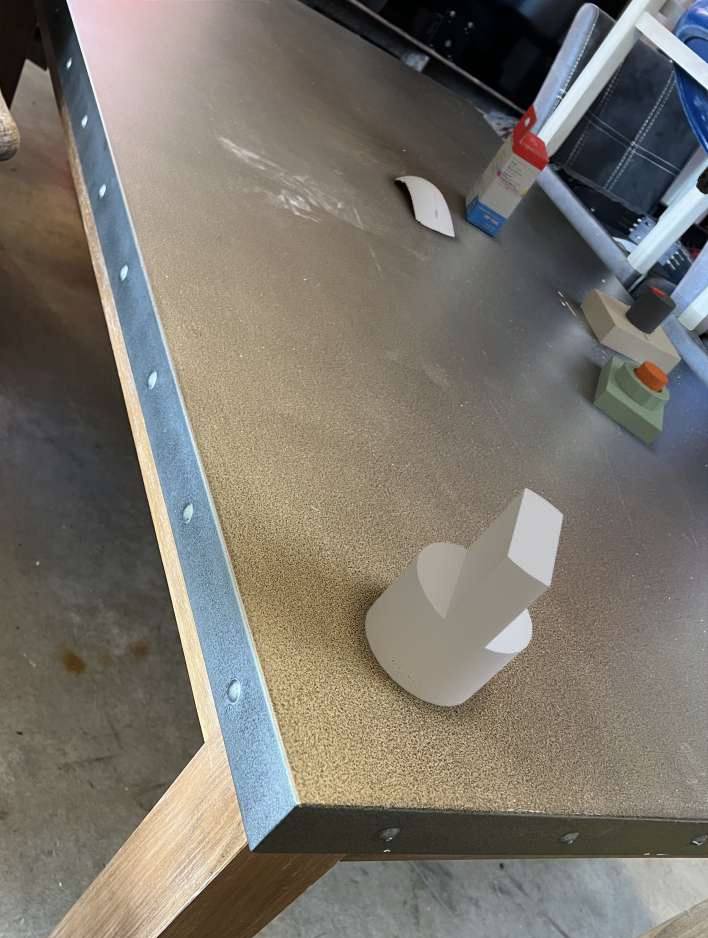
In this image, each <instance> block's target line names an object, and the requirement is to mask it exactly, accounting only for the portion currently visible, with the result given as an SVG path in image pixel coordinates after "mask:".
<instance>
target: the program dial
mask: <svg viewBox="0 0 708 938" xmlns="http://www.w3.org/2000/svg"><path fill="white" fill-rule="evenodd" d="M676 308H677V303H676V302H675V301H674V299H673V298H672V297H671V296H670V295H669V294H667V292H666V291H664V290H662V289H661V288H660V287H658V286H656V285H653V284H650V285H649V286H648V287H647V288H646V289H645V291H643V293H642V294H641V295H640V296H639V297H638V299H636V301H634V303H633V304H632V305H630V309H629V310H628V311H627V312H626V316H627V318H628V319H629V321H630V322H631V323H632V324H633V325H634V326H636V327H637V328H638V329H640V330H641V331H643V332H645V333H647V334H651V333H652V332H653V331H654V330H655V329H656V328H657V327H658V326H659V325H660V326H661V324H662V323H663V322H664V321H665V320H666V319H667V317H668V316H669V315H670V314H671V313H672V312H673V311H674V310H675V309H676Z"/></svg>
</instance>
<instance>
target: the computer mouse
mask: <svg viewBox="0 0 708 938" xmlns="http://www.w3.org/2000/svg"><path fill="white" fill-rule="evenodd" d="M394 181H401V183H405V185H406V187H407V189H408V191H409V193H410V196H411V197H410V198H411V200H412V205H413V211H414V215H415V220H416V221H417V222H420V224H421V225H423V226H425V227H427V228H428V229H430V230H434V231H436V232H438V233H441V234H442V235H445V236H449V237H452V238H456V237H455V230H454V226H453V225H454V224H453V221H452V216H451V212H450V209H449V207H448V204H447V202H446V200H445V198H444V196H443V194H442V193H441V191H440V190H439V189H438V187H437V186H435V184H433V183H432V182H430V181H428V180H427V179H425V178H423V177H419V176H414V175H405V176H400V177H397V178H395V180H394Z"/></svg>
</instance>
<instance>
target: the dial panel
mask: <svg viewBox="0 0 708 938" xmlns="http://www.w3.org/2000/svg"><path fill="white" fill-rule="evenodd" d="M579 307H580V309H581V311H582V312H583V314H584V316H585V318H586V320H587V323H588V324H589V326H590V327H591V330H592V331H593V333H594V335H595V337H596V339H597V340H598V342H599V344H601V345H603V346H605V347H607V348H609V349H611V350H613V351H615V352H616V353H619V354H621V355H623V356H625V357H626V358H629V359H631V360H632V361H634V362H636V363H638V364H640V365H641V364H642V363H643V362H644V361H649V362H651V363H653V364H655V365H656V366H657V367H659V368H660V369H661V370H662V371H663V372H664V373H665V374H666V376H668V374H669V373H671V371H672V370H673V369H674V368H675V367H676V366H677V365H678V364H679V363H680V362H681V361H682V358H681V356H680V354H679V353H678V351H677V349H676V348H675V346H674V345H673V344H672V341H671V340H670V339H669V337H668V335H667V334H666V332H665V330H664V328H663V327H662V325H661V324H660V325H659V326H658V327H657V328H656V329H655V330H654V331H653V332H652V333H651V334H647V333H645V332H643V331H641V330H640V329H638V328H637V327H636V326H634V325H633V324H632V323H631V322H630V321H629V319H628V318H627V316H626V312H627V311H628V310H629V309H630V307H631V305H629V304H625V303H623V302H622V301H620V300H618V299H616V298H614V297H613V296H610V295H608V294H607V293H605V292H603V291H602V290H600V289H597V288H593V290H592V291H591V292H590V293H589V295H588V296H587V297H586V298H585V299H584V300H583V302H581V304H580V305H579Z"/></svg>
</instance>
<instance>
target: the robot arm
mask: <svg viewBox="0 0 708 938" xmlns="http://www.w3.org/2000/svg"><path fill="white" fill-rule="evenodd" d="M696 181H697V182H696V184H695V188H696V189H697V190H698V191H699V192H700V193H701V194H702V195H705V196H706V195H708V165H707V166H706V167H705V169H704V170H703V171H702V172H701V173H700V175H698V177H697V179H696Z"/></svg>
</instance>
